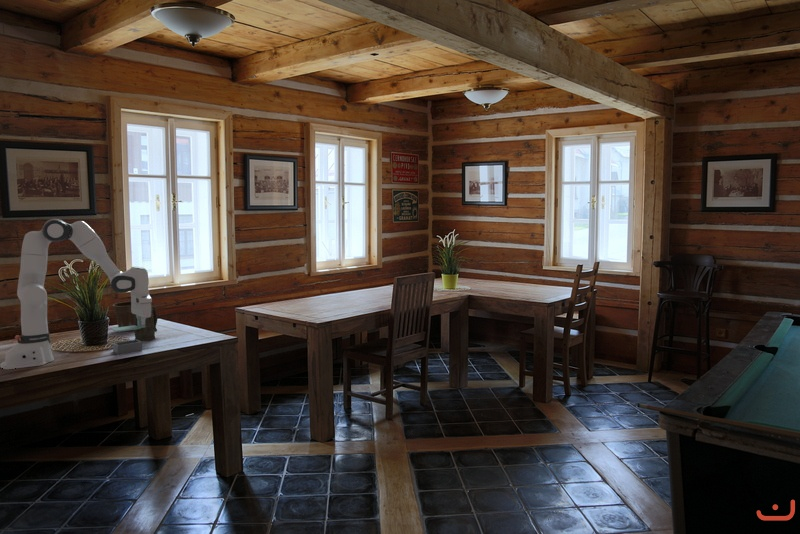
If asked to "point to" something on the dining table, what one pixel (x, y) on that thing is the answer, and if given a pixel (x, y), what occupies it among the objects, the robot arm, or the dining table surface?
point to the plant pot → (124, 314)
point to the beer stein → (147, 327)
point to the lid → (129, 327)
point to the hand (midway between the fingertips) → (141, 324)
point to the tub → (127, 346)
